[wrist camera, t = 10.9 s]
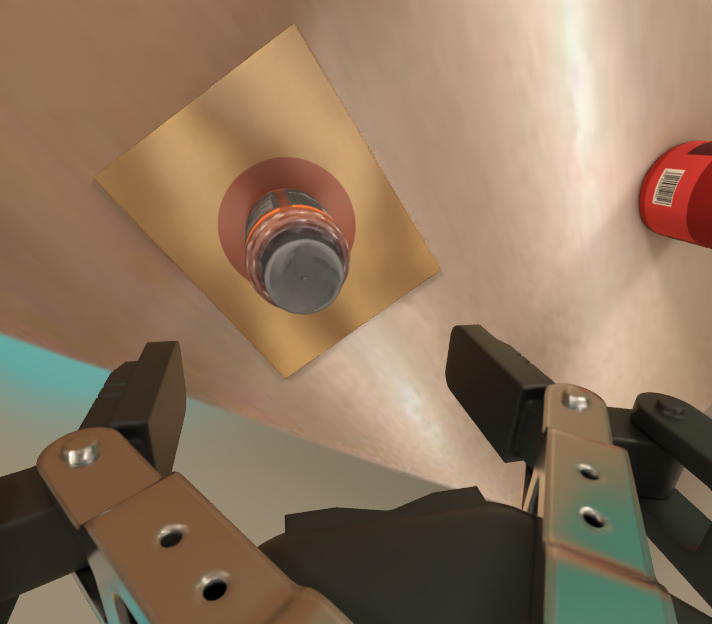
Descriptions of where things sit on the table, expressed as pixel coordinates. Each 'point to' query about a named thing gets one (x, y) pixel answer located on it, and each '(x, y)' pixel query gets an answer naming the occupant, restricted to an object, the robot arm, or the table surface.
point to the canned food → (680, 194)
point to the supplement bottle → (295, 252)
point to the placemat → (256, 178)
